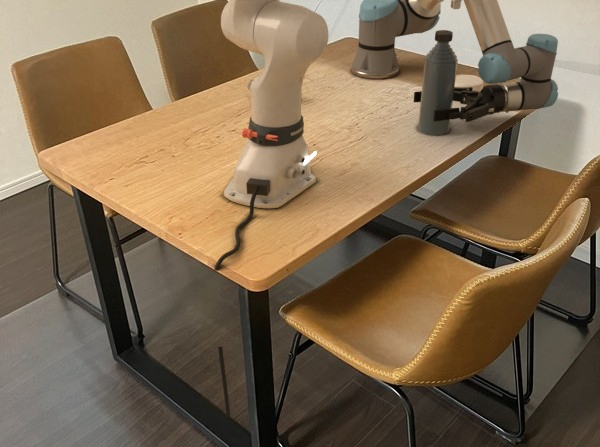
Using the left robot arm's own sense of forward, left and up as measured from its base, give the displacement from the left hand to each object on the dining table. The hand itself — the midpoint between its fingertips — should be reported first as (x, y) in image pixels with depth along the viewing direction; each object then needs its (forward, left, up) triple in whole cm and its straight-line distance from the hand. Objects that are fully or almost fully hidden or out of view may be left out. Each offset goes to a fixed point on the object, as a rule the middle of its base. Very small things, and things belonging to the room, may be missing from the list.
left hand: (447, 4), depth 148 cm
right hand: (-2, +3, -25) cm, 25 cm away
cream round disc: (+31, -2, -32) cm, 45 cm away
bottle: (0, 0, -32) cm, 32 cm away
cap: (0, 0, -7) cm, 7 cm away
